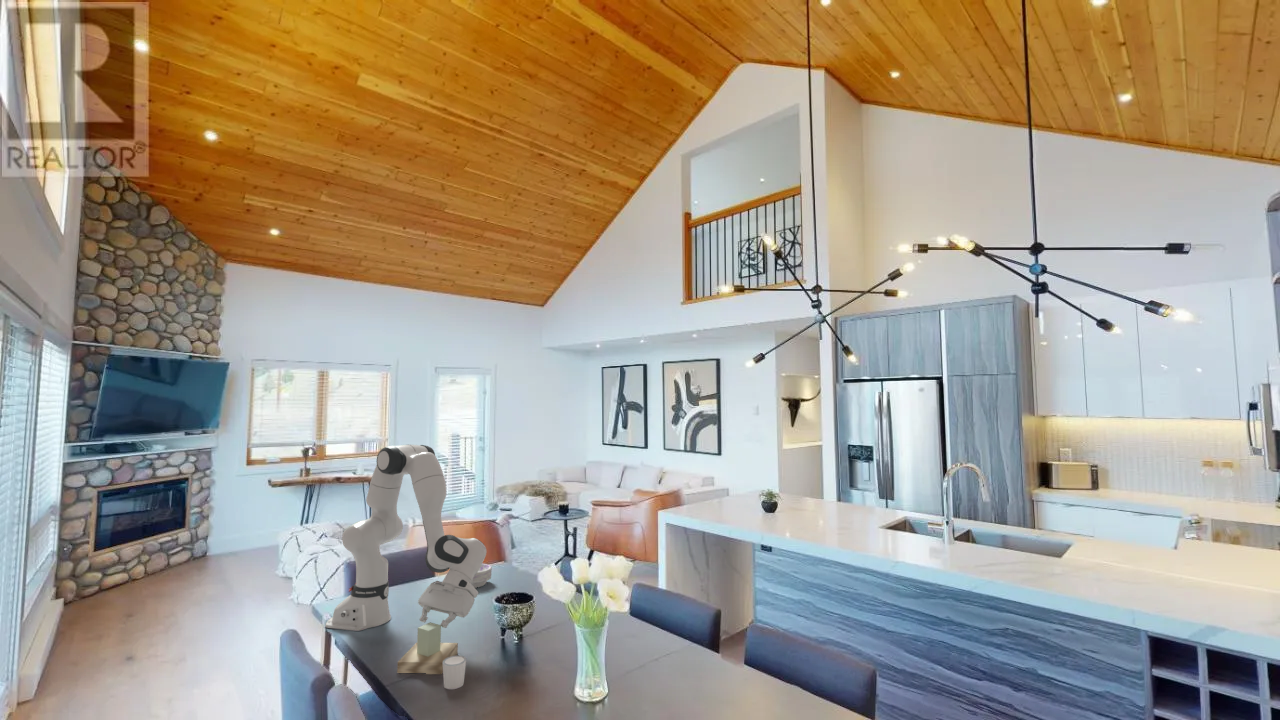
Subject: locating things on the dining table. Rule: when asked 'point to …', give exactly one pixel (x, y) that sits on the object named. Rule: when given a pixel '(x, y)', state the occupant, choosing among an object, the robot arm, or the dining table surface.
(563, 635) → the dining table surface
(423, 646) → the sage block
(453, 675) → the shot glass
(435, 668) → the block
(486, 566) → the light grey bowl
